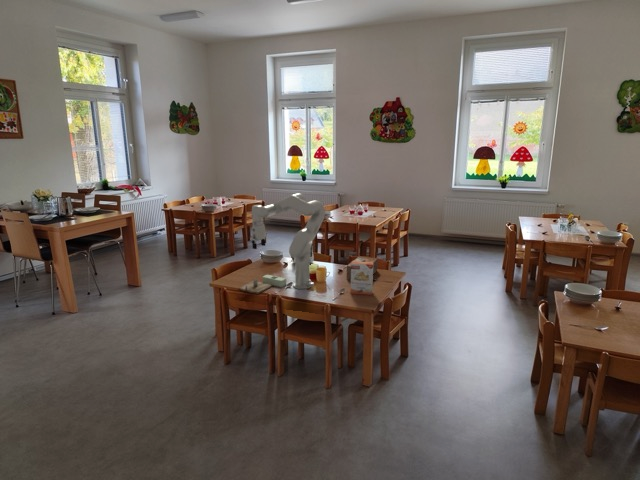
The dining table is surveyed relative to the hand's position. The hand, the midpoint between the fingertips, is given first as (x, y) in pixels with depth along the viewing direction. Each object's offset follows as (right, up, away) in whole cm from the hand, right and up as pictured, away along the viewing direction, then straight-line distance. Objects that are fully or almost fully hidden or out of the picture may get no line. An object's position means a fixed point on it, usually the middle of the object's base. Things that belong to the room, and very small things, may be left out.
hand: (259, 247), depth 295 cm
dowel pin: (-6, -27, -17) cm, 32 cm away
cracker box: (+69, -30, -20) cm, 78 cm away
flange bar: (+11, -25, -4) cm, 28 cm away
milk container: (+29, -14, +41) cm, 52 cm away
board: (-1, -27, -12) cm, 30 cm away
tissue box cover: (+73, -21, +15) cm, 78 cm away
